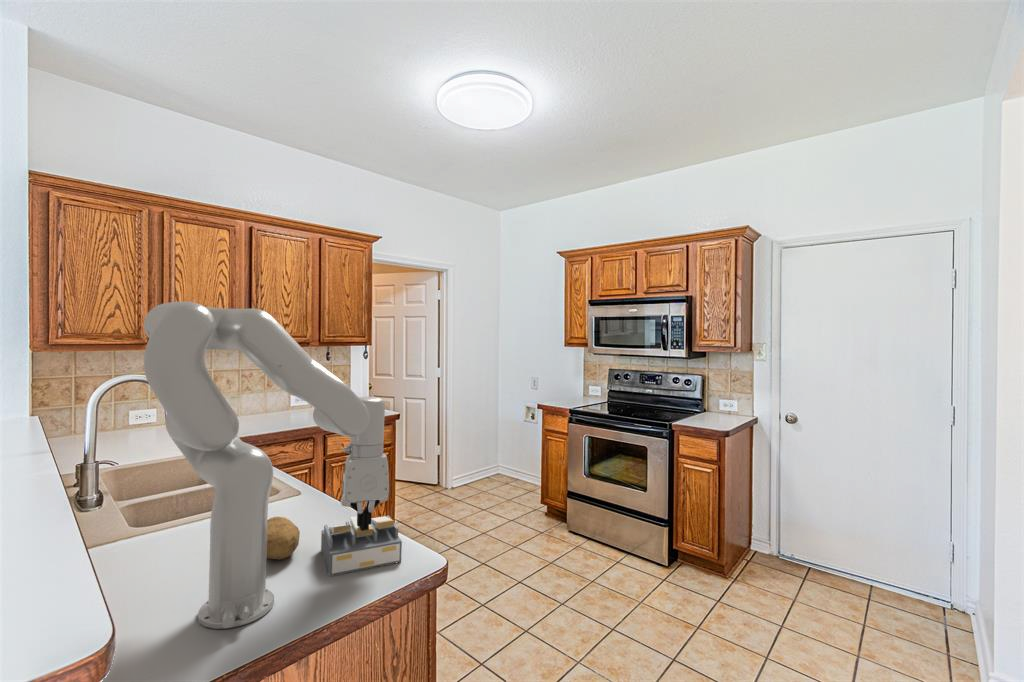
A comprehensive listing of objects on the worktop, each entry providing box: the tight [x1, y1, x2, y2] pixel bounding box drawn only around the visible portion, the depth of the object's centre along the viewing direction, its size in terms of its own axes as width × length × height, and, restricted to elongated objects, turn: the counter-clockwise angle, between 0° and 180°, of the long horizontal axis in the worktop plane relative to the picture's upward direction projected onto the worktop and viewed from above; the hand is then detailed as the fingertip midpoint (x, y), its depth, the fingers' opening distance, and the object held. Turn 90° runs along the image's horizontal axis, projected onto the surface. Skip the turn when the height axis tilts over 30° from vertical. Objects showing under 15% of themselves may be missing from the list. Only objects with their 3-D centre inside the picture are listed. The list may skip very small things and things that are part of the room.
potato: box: [267, 516, 301, 560], centre depth 114 cm, size 10×14×8 cm
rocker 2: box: [349, 515, 373, 538], centre depth 115 cm, size 8×4×1 cm, turn 29°
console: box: [320, 514, 403, 577], centre depth 115 cm, size 14×16×7 cm
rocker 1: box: [328, 524, 352, 534], centre depth 113 cm, size 8×4×1 cm, turn 29°
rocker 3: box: [371, 515, 395, 529], centre depth 118 cm, size 8×4×1 cm, turn 29°
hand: (363, 528), depth 112 cm, fingers closed
